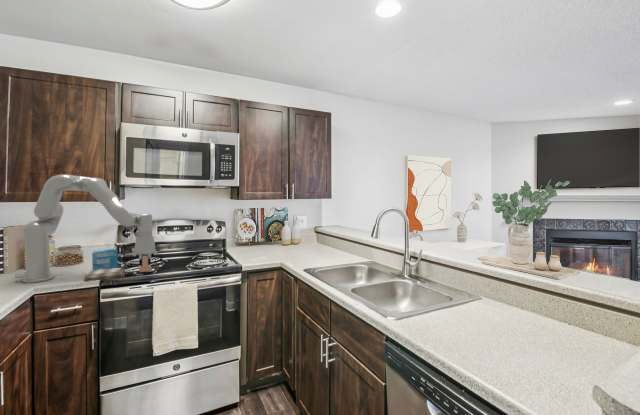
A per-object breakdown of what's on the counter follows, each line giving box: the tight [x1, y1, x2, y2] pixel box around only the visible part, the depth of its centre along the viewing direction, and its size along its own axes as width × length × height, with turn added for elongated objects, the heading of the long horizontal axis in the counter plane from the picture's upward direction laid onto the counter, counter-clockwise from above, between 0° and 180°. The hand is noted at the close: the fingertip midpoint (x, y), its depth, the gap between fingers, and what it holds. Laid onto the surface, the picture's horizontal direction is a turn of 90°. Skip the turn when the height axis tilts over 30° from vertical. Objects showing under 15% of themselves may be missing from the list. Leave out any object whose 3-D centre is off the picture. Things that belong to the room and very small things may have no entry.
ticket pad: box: [83, 267, 126, 282], centre depth 172 cm, size 18×10×4 cm, turn 122°
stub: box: [138, 255, 152, 273], centre depth 182 cm, size 6×9×8 cm, turn 32°
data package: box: [91, 248, 119, 270], centre depth 188 cm, size 12×4×12 cm, turn 143°
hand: (145, 265), depth 183 cm, fingers closed on stub, 3 cm apart
